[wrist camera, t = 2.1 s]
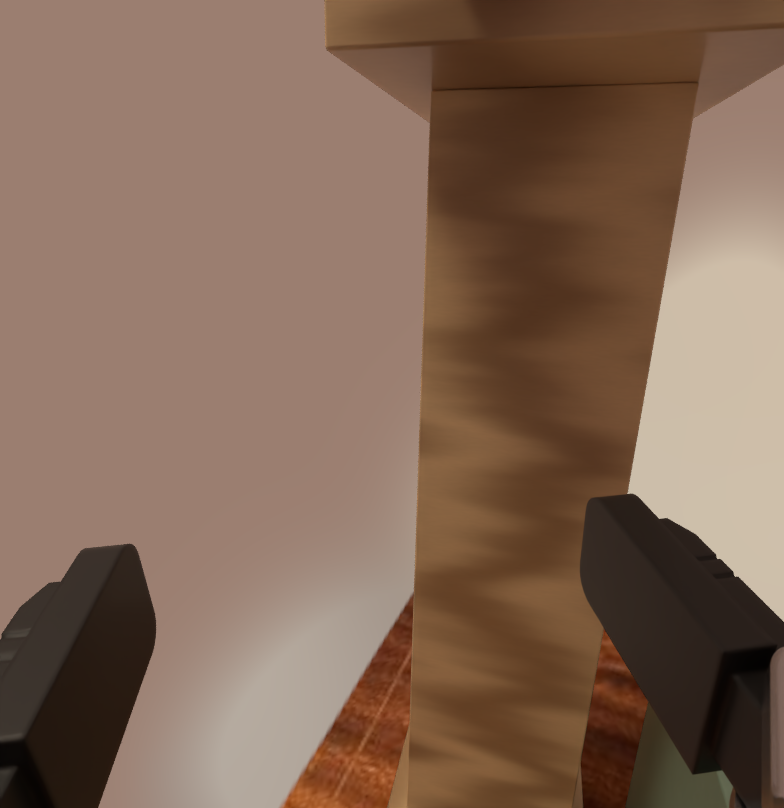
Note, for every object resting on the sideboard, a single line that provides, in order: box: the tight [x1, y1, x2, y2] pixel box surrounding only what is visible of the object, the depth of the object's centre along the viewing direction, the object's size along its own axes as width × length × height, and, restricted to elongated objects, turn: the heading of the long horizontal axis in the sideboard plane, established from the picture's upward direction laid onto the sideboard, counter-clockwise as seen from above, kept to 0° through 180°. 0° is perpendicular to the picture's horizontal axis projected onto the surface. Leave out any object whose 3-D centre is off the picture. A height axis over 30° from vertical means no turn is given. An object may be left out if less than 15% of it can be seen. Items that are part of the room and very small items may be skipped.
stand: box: [324, 0, 784, 808], centre depth 20 cm, size 9×12×32 cm
